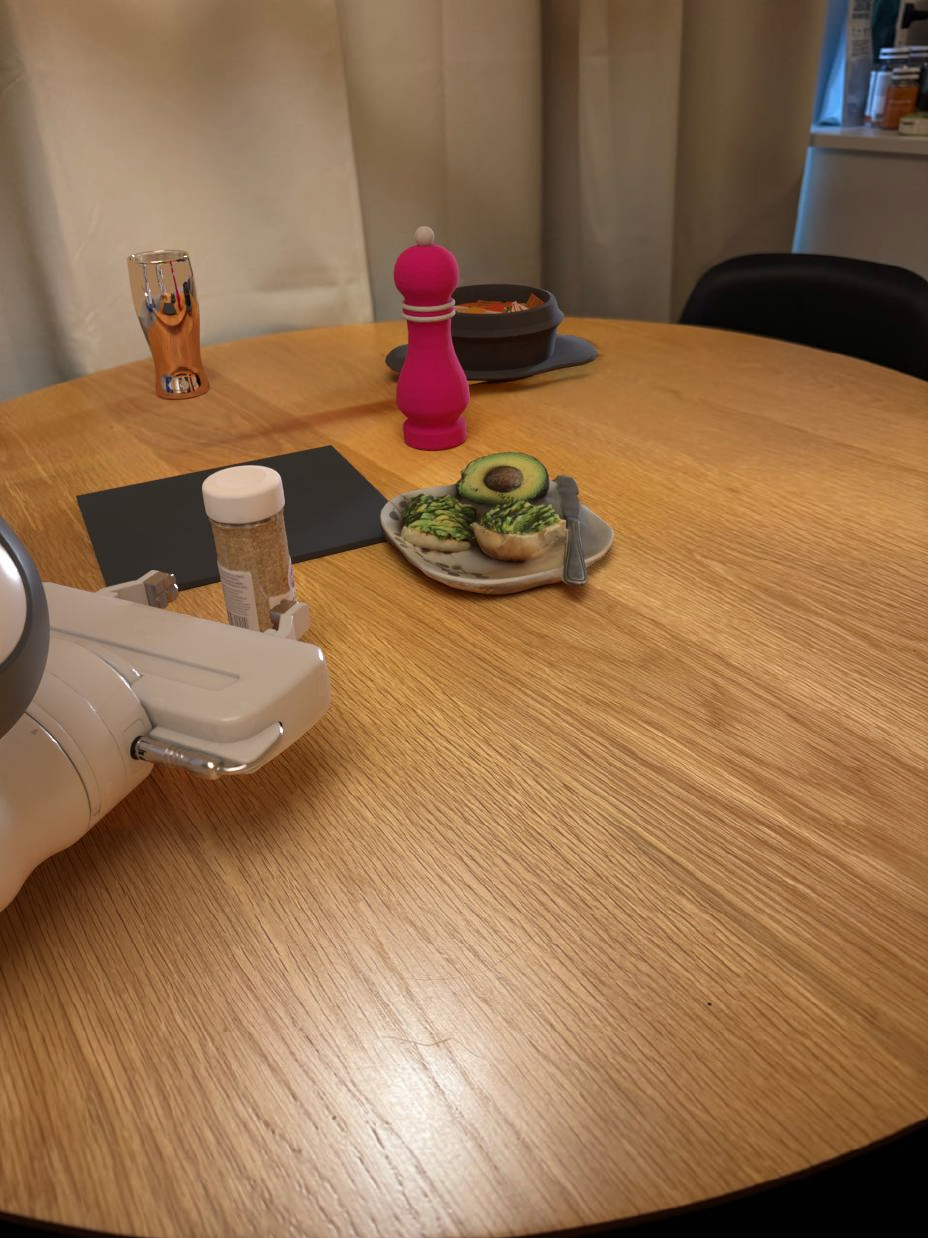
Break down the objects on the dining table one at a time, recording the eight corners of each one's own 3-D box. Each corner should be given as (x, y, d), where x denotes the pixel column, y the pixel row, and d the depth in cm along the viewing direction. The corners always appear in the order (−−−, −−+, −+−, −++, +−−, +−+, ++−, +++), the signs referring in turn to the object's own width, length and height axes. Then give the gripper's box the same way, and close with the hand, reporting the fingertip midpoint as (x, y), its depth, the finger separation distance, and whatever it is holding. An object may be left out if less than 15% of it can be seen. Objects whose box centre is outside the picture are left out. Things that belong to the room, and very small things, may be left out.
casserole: (579, 342, 124) (581, 273, 120) (613, 388, 108) (616, 311, 104) (383, 354, 122) (378, 285, 118) (389, 403, 107) (383, 325, 102)
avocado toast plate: (676, 582, 71) (683, 525, 69) (452, 634, 65) (451, 575, 63) (552, 481, 86) (555, 432, 84) (361, 517, 80) (358, 465, 78)
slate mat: (113, 607, 71) (111, 600, 70) (77, 501, 87) (75, 495, 87) (416, 533, 79) (416, 527, 79) (331, 450, 95) (331, 444, 95)
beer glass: (181, 404, 109) (154, 264, 101) (139, 395, 112) (110, 258, 104) (226, 386, 113) (204, 251, 106) (184, 378, 117) (160, 246, 109)
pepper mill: (456, 456, 93) (447, 234, 82) (387, 448, 95) (369, 232, 85) (481, 429, 99) (475, 219, 88) (415, 423, 101) (402, 217, 90)
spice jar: (317, 678, 62) (290, 483, 55) (247, 698, 60) (211, 500, 53) (295, 643, 66) (267, 456, 58) (228, 662, 64) (192, 471, 57)
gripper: (227, 730, 41) (382, 581, 52) (-107, 635, 49) (88, 521, 59) (249, 839, 45) (390, 677, 55) (-67, 734, 52) (111, 609, 63)
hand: (231, 596), depth 57 cm, fingers open, 8 cm apart
